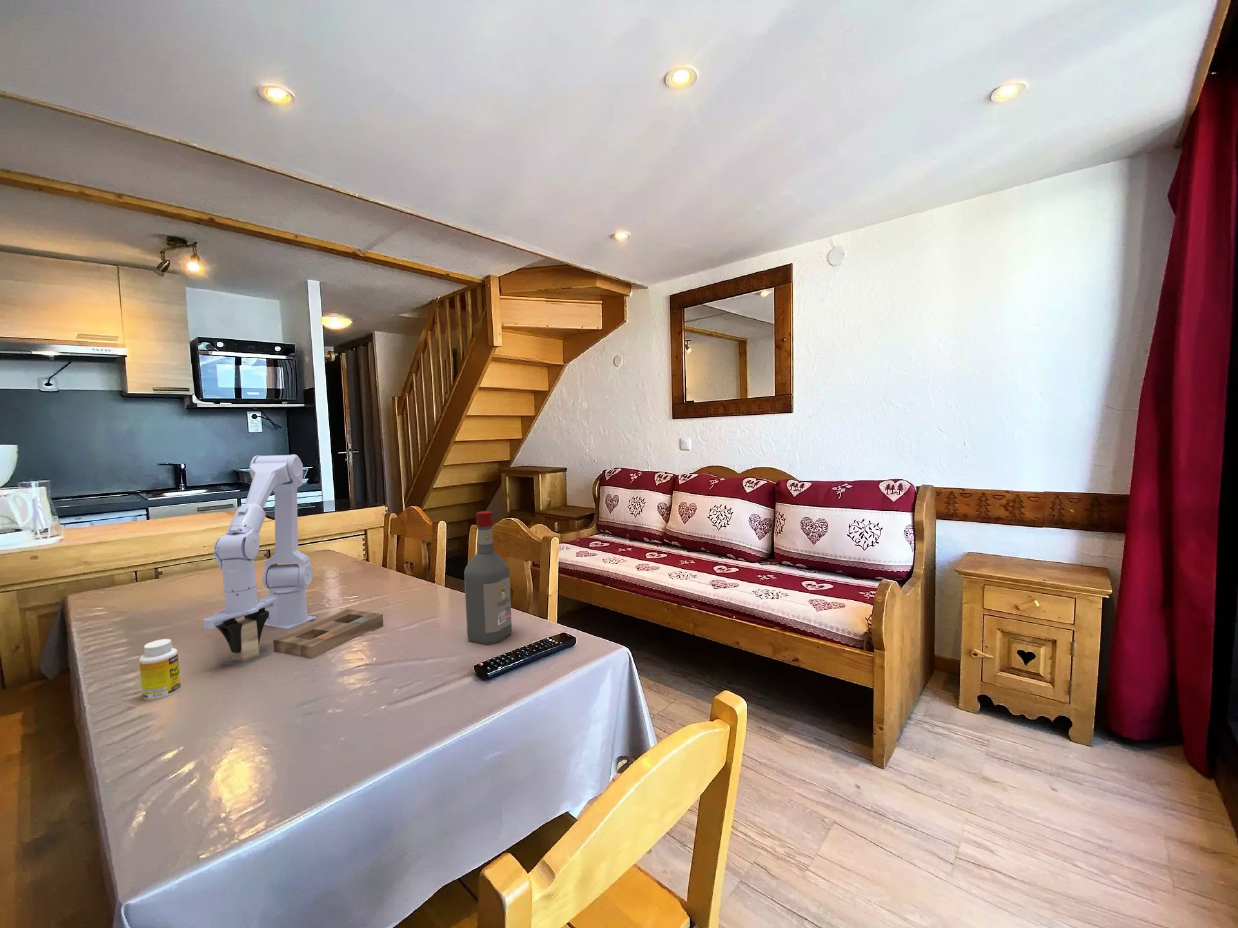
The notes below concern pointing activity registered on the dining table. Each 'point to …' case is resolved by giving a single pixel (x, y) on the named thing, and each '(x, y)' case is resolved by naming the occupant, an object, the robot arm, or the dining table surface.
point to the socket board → (328, 633)
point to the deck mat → (241, 664)
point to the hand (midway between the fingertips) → (245, 648)
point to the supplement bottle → (159, 670)
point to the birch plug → (248, 641)
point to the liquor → (487, 589)
